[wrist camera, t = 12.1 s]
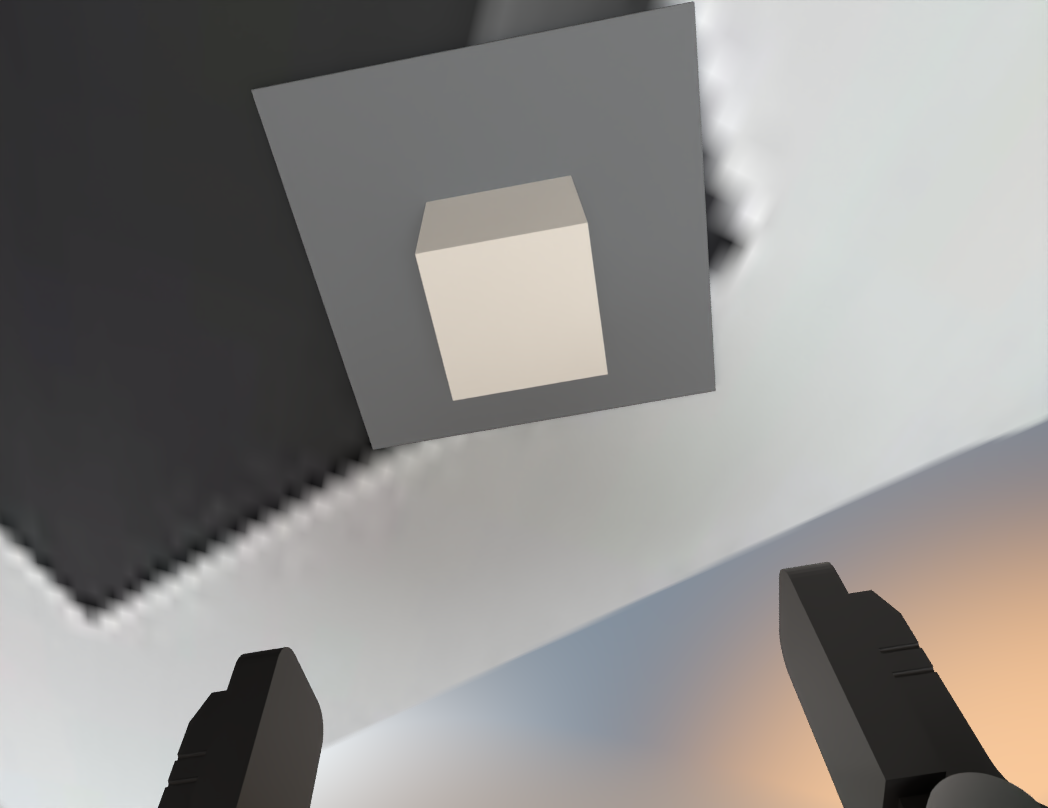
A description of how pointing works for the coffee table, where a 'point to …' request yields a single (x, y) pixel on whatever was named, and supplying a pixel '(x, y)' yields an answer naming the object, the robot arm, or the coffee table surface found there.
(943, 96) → the coffee table surface
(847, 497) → the coffee table surface
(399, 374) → the mat
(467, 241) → the cube
